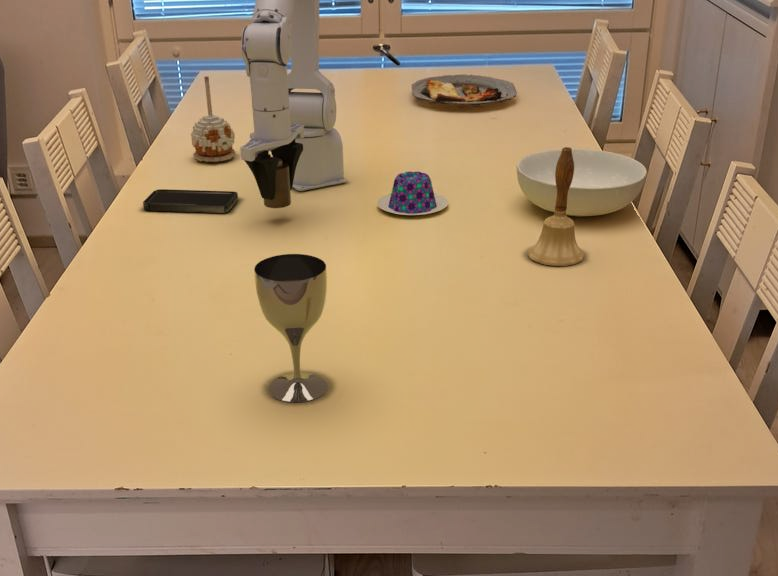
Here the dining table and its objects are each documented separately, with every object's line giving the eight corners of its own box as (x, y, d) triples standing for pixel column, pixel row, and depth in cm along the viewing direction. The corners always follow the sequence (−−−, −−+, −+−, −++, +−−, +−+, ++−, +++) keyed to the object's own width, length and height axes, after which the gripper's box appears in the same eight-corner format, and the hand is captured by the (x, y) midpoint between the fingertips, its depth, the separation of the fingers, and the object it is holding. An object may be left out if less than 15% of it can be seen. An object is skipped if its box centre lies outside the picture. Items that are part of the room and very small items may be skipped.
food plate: (521, 112, 221) (522, 95, 219) (413, 114, 221) (413, 97, 219) (509, 84, 241) (510, 68, 239) (410, 86, 242) (410, 70, 240)
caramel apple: (209, 167, 193) (200, 83, 184) (186, 158, 198) (177, 76, 189) (243, 158, 197) (235, 76, 188) (220, 150, 202) (212, 69, 193)
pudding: (362, 208, 172) (361, 177, 169) (408, 190, 179) (409, 160, 176) (416, 224, 165) (416, 192, 162) (462, 205, 172) (463, 174, 169)
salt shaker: (284, 197, 169) (281, 154, 165) (295, 205, 166) (293, 161, 162) (259, 202, 167) (256, 159, 163) (270, 210, 164) (267, 166, 160)
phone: (155, 189, 179) (239, 191, 177) (156, 195, 179) (239, 197, 177) (140, 204, 172) (227, 206, 170) (141, 210, 173) (227, 213, 171)
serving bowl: (564, 239, 159) (568, 195, 155) (490, 200, 174) (492, 159, 170) (668, 215, 166) (674, 173, 163) (588, 180, 182) (592, 141, 178)
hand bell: (587, 248, 155) (599, 142, 146) (578, 269, 149) (590, 158, 140) (533, 243, 158) (541, 137, 149) (522, 263, 151) (530, 154, 142)
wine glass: (264, 373, 124) (254, 255, 116) (329, 370, 125) (324, 252, 116) (264, 406, 118) (253, 283, 109) (333, 402, 118) (328, 279, 110)
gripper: (276, 93, 165) (282, 177, 172) (221, 115, 155) (230, 203, 162) (313, 98, 162) (317, 183, 169) (259, 120, 151) (266, 210, 159)
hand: (277, 193), depth 166 cm, fingers closed on salt shaker, 4 cm apart
